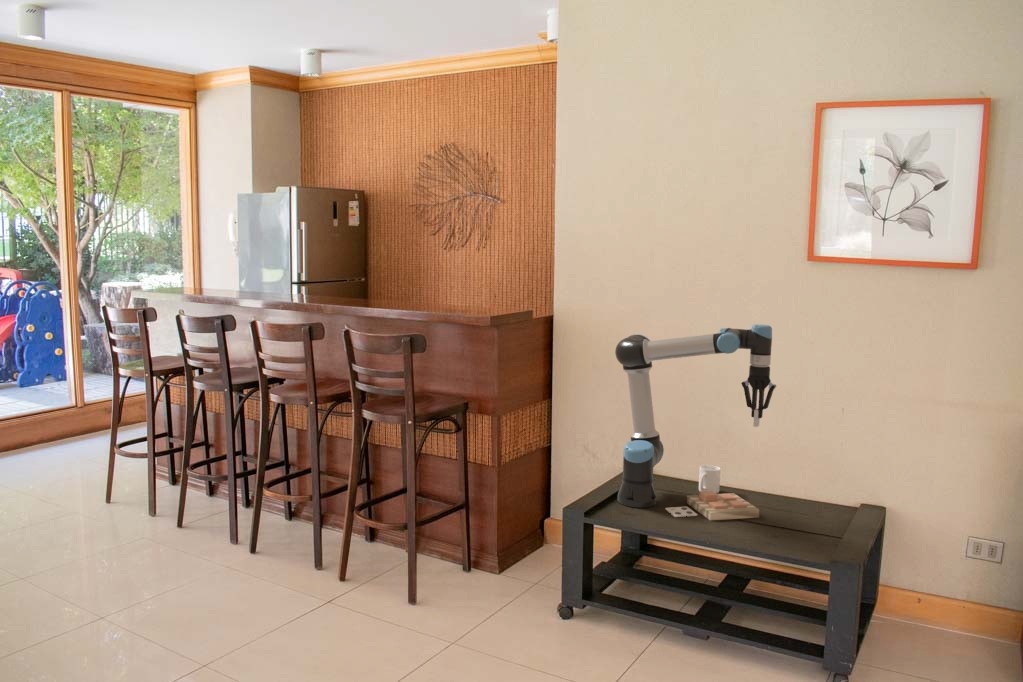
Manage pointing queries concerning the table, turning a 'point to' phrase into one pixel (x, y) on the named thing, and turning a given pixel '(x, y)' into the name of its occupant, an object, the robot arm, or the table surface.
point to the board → (723, 514)
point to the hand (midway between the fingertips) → (756, 425)
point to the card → (681, 511)
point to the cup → (709, 478)
